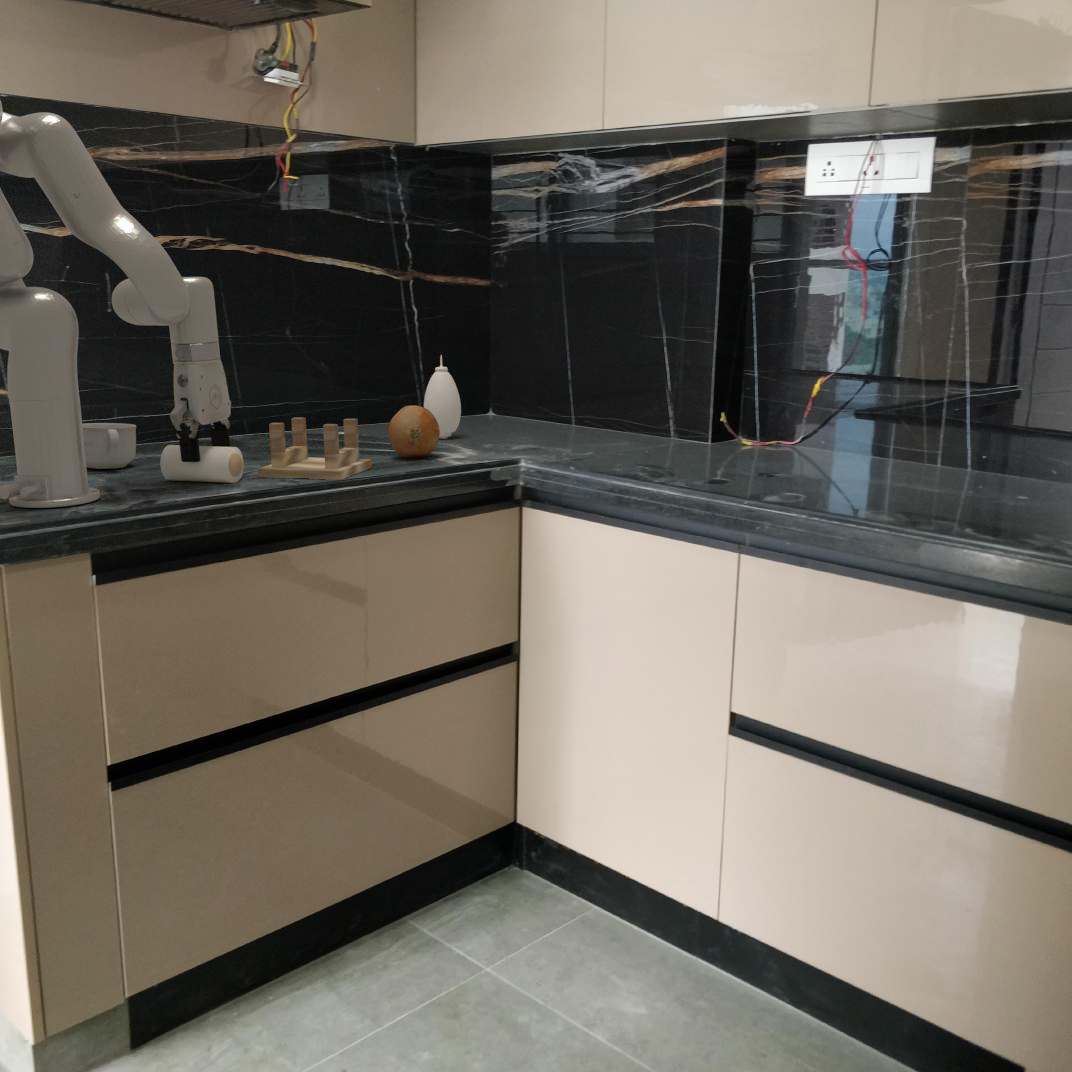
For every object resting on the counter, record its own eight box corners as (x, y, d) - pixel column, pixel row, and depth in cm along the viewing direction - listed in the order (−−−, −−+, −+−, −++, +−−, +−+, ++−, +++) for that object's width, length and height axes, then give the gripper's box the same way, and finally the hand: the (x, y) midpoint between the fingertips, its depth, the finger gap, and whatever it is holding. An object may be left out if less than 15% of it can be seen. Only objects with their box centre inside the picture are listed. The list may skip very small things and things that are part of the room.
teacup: (76, 465, 197) (72, 421, 195) (138, 461, 201) (134, 419, 199) (74, 476, 185) (70, 430, 183) (141, 472, 188) (137, 427, 187)
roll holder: (339, 480, 179) (337, 426, 177) (258, 477, 183) (255, 424, 181) (371, 467, 192) (369, 417, 191) (295, 464, 196) (292, 415, 194)
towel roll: (228, 486, 175) (224, 450, 174) (161, 483, 178) (157, 448, 177) (246, 479, 181) (243, 444, 180) (180, 476, 184) (177, 442, 182)
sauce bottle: (417, 438, 232) (415, 354, 228) (443, 435, 238) (441, 353, 234) (442, 441, 227) (440, 356, 223) (468, 437, 233) (466, 354, 229)
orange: (396, 463, 198) (394, 409, 196) (383, 456, 207) (381, 404, 205) (446, 460, 201) (445, 407, 199) (431, 453, 210) (430, 402, 208)
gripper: (188, 358, 166) (199, 466, 170) (242, 349, 183) (252, 448, 187) (145, 358, 168) (157, 465, 172) (203, 350, 184) (213, 447, 188)
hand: (206, 456), depth 179 cm, fingers open, 9 cm apart
